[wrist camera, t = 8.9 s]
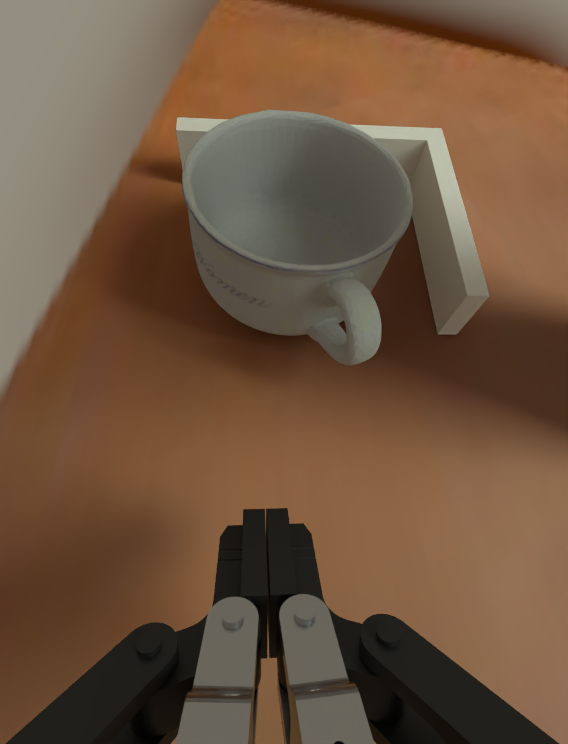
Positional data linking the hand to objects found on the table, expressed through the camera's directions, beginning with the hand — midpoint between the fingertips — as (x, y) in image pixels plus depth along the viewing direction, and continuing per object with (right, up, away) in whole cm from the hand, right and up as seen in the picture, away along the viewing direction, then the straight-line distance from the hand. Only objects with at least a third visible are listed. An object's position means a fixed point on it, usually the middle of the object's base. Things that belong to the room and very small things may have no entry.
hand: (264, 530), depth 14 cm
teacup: (+1, +9, +12) cm, 15 cm away
